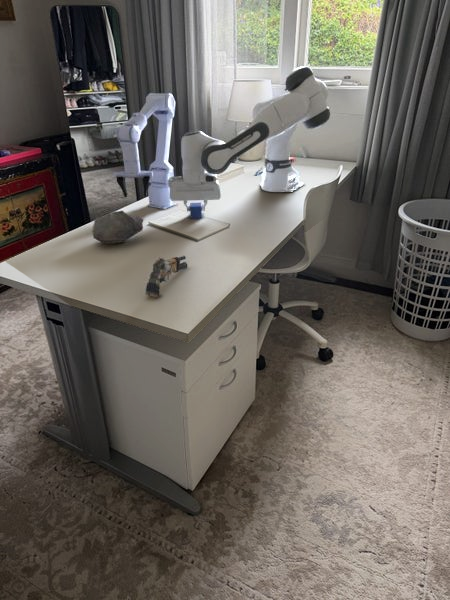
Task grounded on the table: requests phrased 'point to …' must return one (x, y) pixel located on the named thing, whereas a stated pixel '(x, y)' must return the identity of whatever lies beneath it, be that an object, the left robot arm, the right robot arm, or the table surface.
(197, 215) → the block
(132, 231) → the stone
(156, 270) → the toy gun
